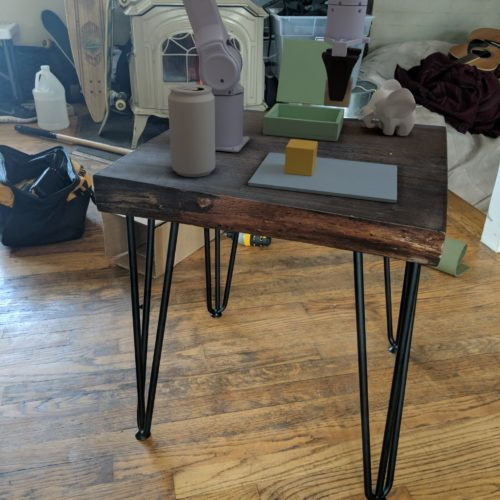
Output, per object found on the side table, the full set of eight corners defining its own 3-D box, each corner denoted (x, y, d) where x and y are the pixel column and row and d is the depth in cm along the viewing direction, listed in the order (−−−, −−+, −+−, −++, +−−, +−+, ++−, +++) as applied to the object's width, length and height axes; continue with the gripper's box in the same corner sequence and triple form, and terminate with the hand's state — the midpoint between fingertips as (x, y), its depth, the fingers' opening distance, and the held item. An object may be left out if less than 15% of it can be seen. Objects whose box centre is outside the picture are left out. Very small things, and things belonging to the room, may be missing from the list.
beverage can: (208, 180, 72) (207, 93, 66) (165, 176, 73) (160, 90, 68) (220, 166, 78) (220, 84, 72) (179, 162, 79) (176, 81, 73)
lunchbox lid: (353, 42, 97) (353, 46, 100) (283, 38, 100) (286, 42, 103) (344, 106, 98) (345, 109, 101) (276, 100, 101) (278, 103, 104)
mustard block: (284, 173, 74) (285, 146, 72) (289, 164, 78) (290, 138, 76) (311, 176, 73) (314, 149, 72) (315, 167, 77) (317, 141, 75)
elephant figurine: (350, 123, 102) (356, 77, 97) (411, 125, 101) (419, 79, 97) (358, 137, 93) (364, 87, 89) (424, 140, 93) (434, 89, 89)
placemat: (247, 185, 71) (247, 182, 71) (269, 155, 83) (269, 152, 83) (396, 203, 67) (397, 199, 67) (396, 168, 79) (397, 165, 79)
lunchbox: (336, 141, 91) (338, 123, 89) (262, 134, 93) (263, 116, 92) (342, 125, 100) (344, 108, 99) (275, 119, 103) (276, 103, 102)
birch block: (323, 105, 82) (325, 79, 80) (326, 100, 86) (328, 75, 84) (348, 107, 82) (351, 81, 80) (350, 102, 85) (353, 77, 83)
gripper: (373, 8, 70) (360, 110, 76) (376, 3, 82) (364, 90, 89) (321, 6, 71) (312, 106, 77) (331, 1, 83) (323, 87, 90)
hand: (337, 97), depth 83 cm, fingers closed on birch block, 4 cm apart
